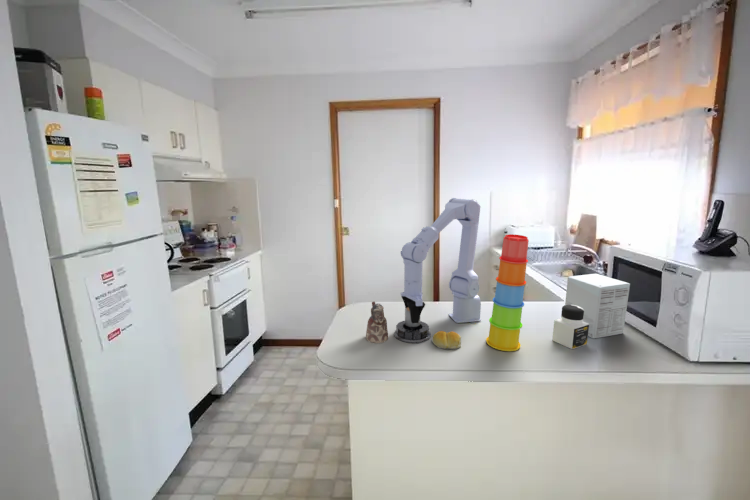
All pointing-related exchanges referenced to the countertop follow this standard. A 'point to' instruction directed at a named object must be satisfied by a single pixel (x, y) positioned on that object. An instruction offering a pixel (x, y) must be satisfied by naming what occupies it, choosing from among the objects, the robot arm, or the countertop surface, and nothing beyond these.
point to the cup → (409, 319)
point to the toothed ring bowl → (412, 333)
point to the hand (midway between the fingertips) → (412, 319)
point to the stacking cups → (509, 294)
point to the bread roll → (447, 340)
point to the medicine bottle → (571, 327)
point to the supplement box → (599, 302)
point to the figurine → (377, 325)
